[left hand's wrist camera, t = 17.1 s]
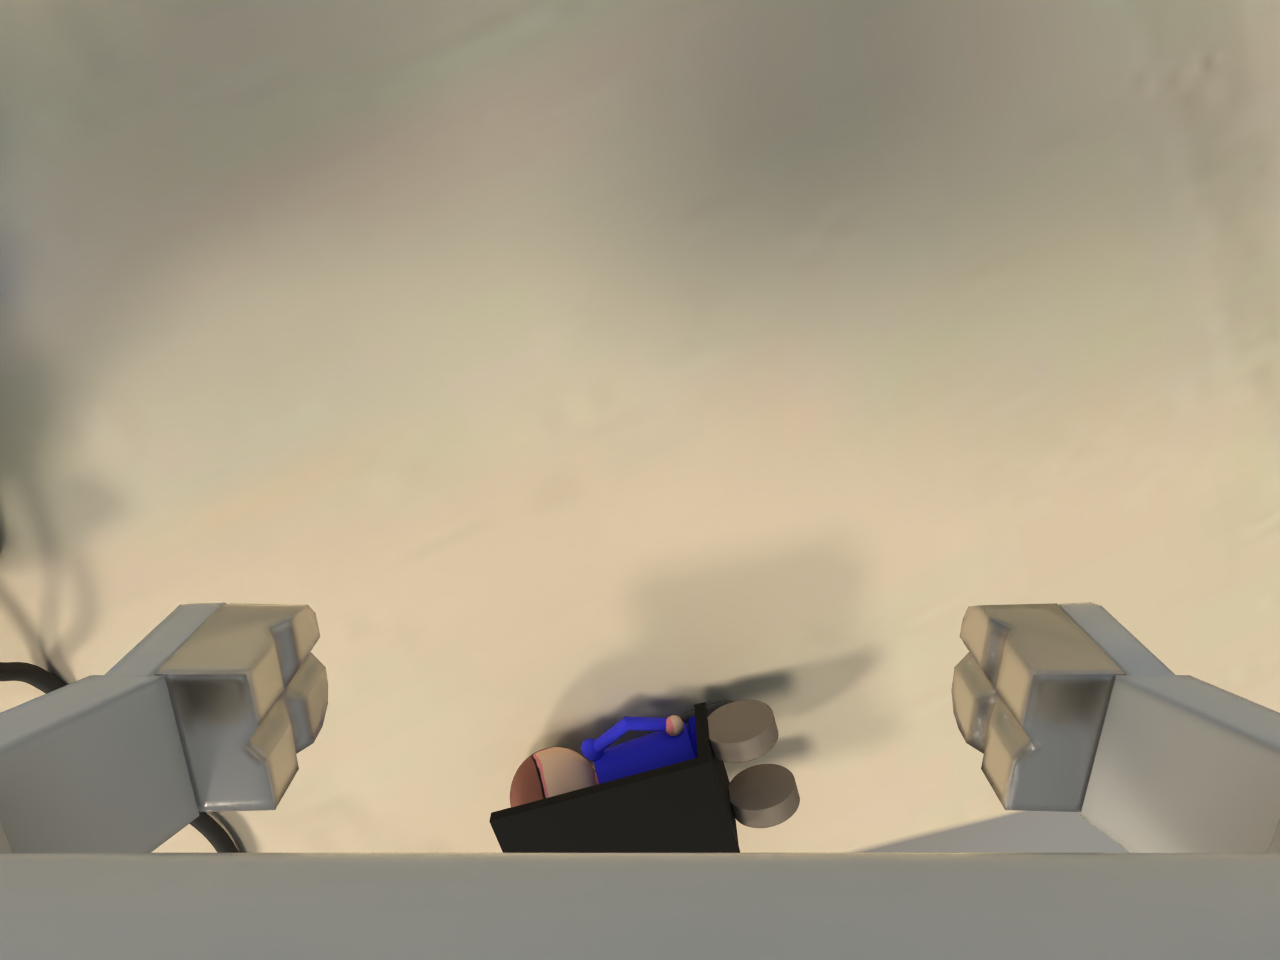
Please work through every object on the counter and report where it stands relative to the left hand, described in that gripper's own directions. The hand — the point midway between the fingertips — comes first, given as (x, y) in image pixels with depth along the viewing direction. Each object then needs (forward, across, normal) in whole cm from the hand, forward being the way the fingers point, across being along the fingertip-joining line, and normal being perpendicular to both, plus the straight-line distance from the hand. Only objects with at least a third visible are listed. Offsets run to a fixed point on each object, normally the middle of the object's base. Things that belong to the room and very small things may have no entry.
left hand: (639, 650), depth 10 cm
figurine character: (+29, 0, +25) cm, 38 cm away
